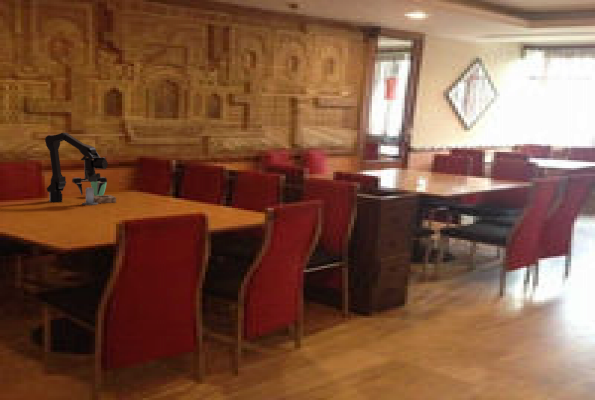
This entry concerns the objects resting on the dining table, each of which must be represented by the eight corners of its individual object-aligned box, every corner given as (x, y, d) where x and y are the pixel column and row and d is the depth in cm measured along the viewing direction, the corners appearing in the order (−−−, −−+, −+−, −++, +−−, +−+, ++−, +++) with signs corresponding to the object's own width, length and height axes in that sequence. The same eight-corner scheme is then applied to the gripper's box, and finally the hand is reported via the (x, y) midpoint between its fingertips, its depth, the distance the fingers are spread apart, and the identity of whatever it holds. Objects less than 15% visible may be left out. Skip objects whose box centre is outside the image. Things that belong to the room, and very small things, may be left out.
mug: (106, 197, 400) (106, 182, 399) (89, 197, 398) (89, 182, 397) (108, 194, 414) (107, 179, 413) (92, 194, 412) (92, 179, 411)
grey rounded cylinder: (86, 203, 368) (86, 188, 367) (85, 202, 372) (84, 187, 371) (94, 203, 370) (94, 188, 369) (92, 202, 374) (92, 187, 373)
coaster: (84, 205, 365) (84, 204, 365) (80, 203, 373) (80, 202, 373) (99, 204, 370) (99, 203, 370) (95, 202, 377) (95, 201, 377)
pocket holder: (95, 203, 375) (95, 198, 375) (90, 200, 385) (90, 195, 385) (116, 202, 381) (116, 197, 381) (110, 199, 391) (110, 195, 391)
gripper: (76, 169, 357) (76, 197, 359) (109, 169, 367) (109, 195, 369) (71, 168, 366) (72, 194, 368) (104, 167, 376) (104, 193, 378)
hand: (89, 194), depth 370 cm, fingers open, 9 cm apart
